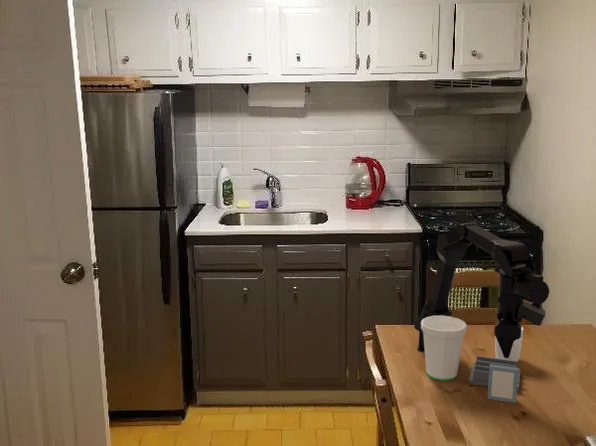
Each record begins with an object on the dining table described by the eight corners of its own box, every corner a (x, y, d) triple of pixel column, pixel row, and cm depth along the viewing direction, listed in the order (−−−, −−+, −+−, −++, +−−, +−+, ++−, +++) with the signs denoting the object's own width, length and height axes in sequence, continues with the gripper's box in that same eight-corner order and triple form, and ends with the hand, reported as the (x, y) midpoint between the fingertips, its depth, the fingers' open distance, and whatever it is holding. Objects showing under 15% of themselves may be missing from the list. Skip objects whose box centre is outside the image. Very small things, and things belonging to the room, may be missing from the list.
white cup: (515, 366, 187) (518, 334, 185) (489, 359, 192) (491, 328, 189) (524, 357, 193) (527, 326, 191) (498, 351, 198) (500, 320, 196)
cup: (427, 361, 191) (429, 312, 187) (469, 370, 184) (472, 320, 181) (412, 377, 180) (414, 326, 177) (456, 388, 174) (459, 334, 171)
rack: (468, 383, 177) (469, 371, 176) (473, 365, 188) (473, 354, 187) (518, 390, 172) (519, 378, 171) (520, 372, 183) (521, 360, 182)
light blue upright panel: (487, 398, 168) (489, 366, 166) (487, 395, 170) (489, 363, 168) (515, 403, 166) (518, 370, 164) (515, 400, 167) (518, 367, 165)
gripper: (545, 307, 151) (541, 369, 154) (544, 285, 169) (540, 341, 172) (495, 302, 155) (492, 363, 158) (499, 281, 172) (496, 336, 175)
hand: (507, 351), depth 166 cm, fingers open, 9 cm apart
